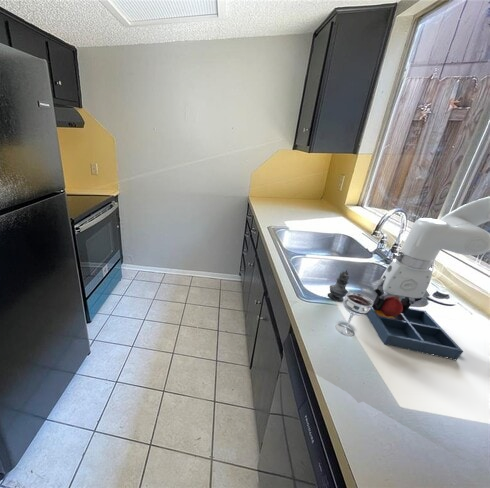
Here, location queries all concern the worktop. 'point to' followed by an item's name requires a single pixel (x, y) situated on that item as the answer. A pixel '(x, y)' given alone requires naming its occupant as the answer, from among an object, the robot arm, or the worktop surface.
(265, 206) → the worktop surface
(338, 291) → the dark grey statuette
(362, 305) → the wineglass
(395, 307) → the onion
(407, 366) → the worktop surface
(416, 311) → the grid
